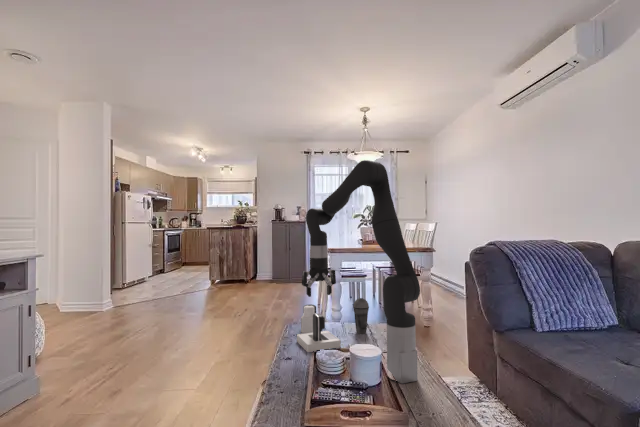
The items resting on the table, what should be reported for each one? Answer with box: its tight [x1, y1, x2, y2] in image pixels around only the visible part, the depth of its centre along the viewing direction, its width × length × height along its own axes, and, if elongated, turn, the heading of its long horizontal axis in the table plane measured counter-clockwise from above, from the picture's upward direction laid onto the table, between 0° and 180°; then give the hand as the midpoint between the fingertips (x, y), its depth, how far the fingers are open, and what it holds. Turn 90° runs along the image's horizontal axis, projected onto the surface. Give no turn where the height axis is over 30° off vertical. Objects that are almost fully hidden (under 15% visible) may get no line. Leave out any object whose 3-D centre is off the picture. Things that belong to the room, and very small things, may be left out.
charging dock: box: [296, 330, 341, 353], centre depth 154 cm, size 14×14×3 cm
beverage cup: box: [352, 288, 370, 335], centre depth 170 cm, size 7×7×20 cm
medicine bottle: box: [300, 304, 317, 334], centre depth 172 cm, size 7×7×12 cm
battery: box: [313, 313, 326, 341], centre depth 154 cm, size 7×4×11 cm, turn 15°
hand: (319, 295), depth 154 cm, fingers open, 8 cm apart
